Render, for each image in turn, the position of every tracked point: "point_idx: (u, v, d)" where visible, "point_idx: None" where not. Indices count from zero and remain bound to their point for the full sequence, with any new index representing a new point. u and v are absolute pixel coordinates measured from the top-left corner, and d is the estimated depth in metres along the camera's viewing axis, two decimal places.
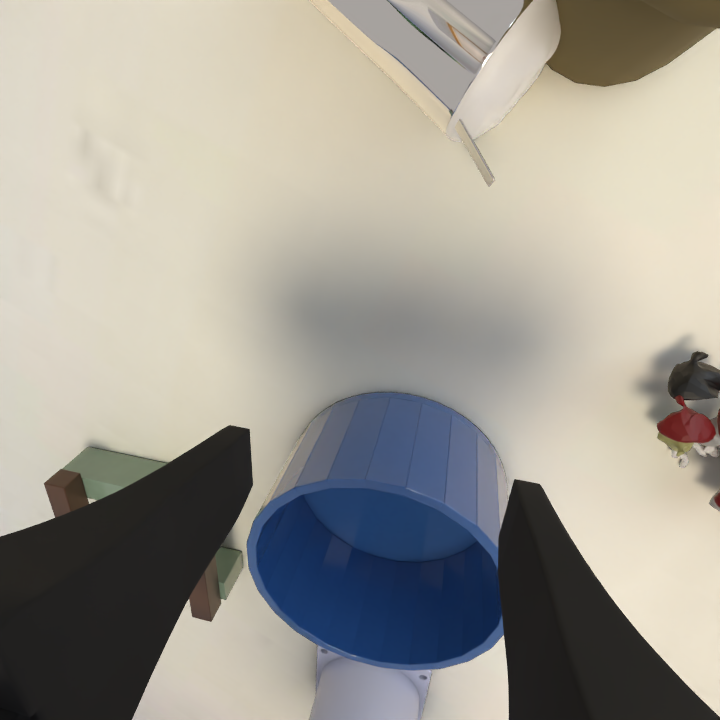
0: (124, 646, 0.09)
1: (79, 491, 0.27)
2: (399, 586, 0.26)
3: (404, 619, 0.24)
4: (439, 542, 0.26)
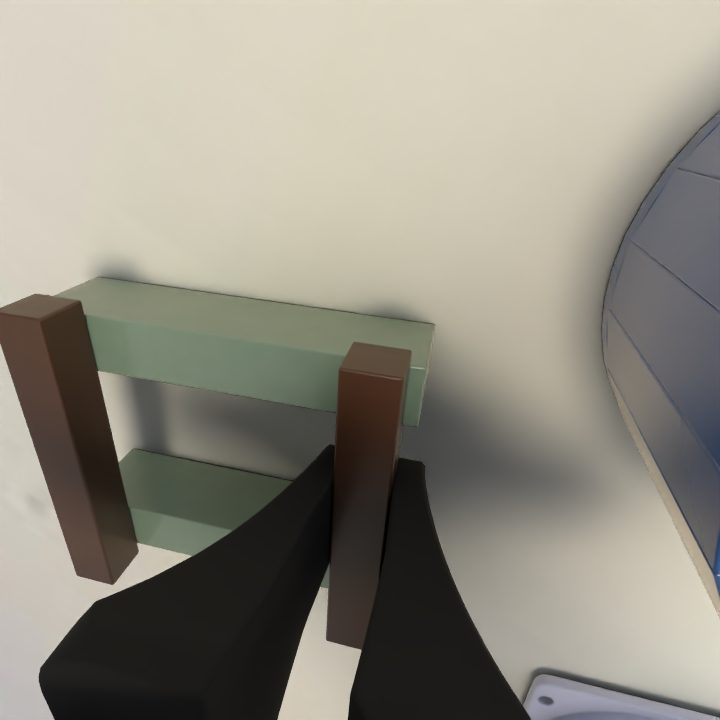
0: (268, 686, 0.08)
1: (79, 346, 0.12)
2: None
3: None
4: None
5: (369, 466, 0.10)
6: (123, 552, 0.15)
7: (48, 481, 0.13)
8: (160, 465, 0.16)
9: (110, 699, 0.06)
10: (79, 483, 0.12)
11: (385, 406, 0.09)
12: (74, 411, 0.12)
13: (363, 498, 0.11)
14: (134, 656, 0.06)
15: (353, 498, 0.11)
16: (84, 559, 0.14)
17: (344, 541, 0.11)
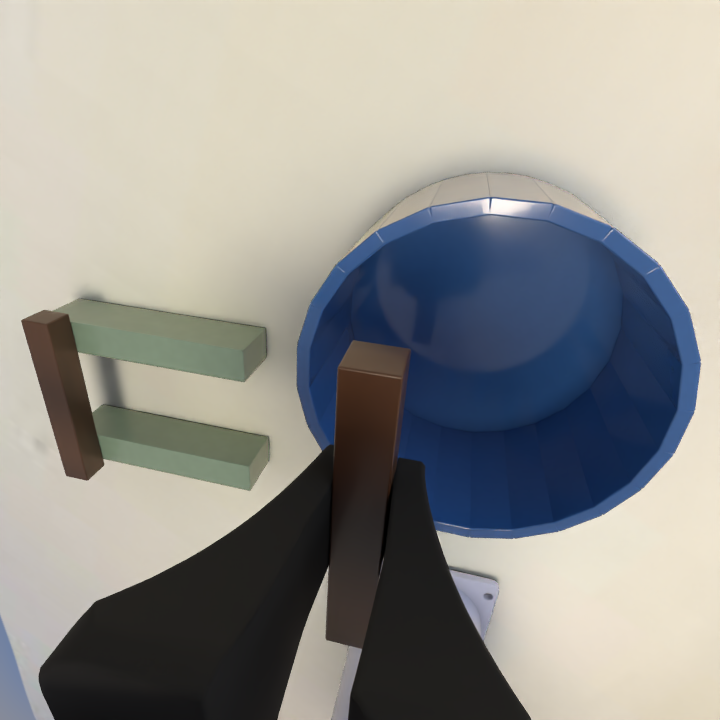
0: (268, 687, 0.08)
1: (67, 338, 0.21)
2: (479, 454, 0.20)
3: (494, 484, 0.18)
4: (530, 399, 0.20)
5: (368, 465, 0.10)
6: (94, 462, 0.25)
7: (50, 414, 0.23)
8: (119, 414, 0.26)
9: (110, 699, 0.06)
10: (67, 415, 0.22)
11: (384, 405, 0.09)
12: (64, 373, 0.22)
13: (362, 497, 0.11)
14: (134, 656, 0.06)
15: (353, 497, 0.11)
16: (70, 464, 0.24)
17: (343, 540, 0.11)
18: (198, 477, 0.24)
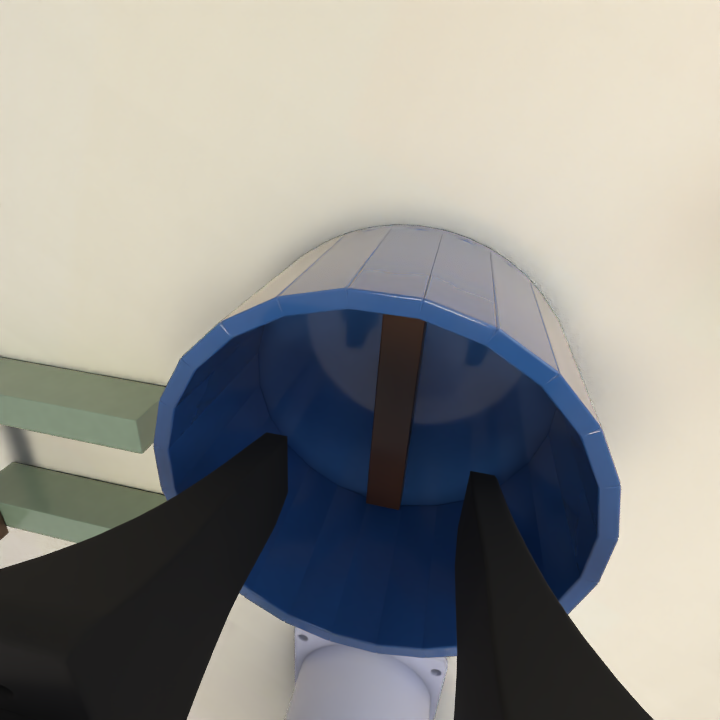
0: (177, 661, 0.09)
1: None
2: (405, 537, 0.18)
3: (413, 581, 0.16)
4: (464, 472, 0.18)
5: (404, 354, 0.15)
6: None
7: None
8: (28, 474, 0.24)
9: None
10: None
11: None
12: None
13: (399, 379, 0.15)
14: (9, 621, 0.06)
15: (391, 380, 0.15)
16: None
17: (383, 416, 0.16)
18: None
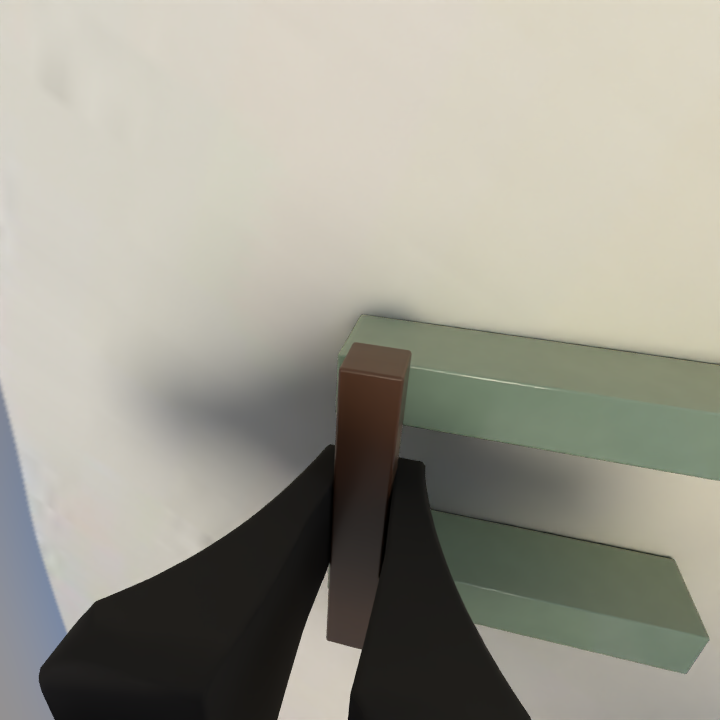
0: (268, 686, 0.08)
1: (404, 401, 0.10)
2: None
3: None
4: None
5: None
6: None
7: (336, 546, 0.11)
8: None
9: (110, 699, 0.06)
10: (376, 549, 0.11)
11: None
12: (393, 473, 0.10)
13: None
14: (134, 656, 0.06)
15: None
16: (345, 625, 0.13)
17: None
18: (577, 644, 0.13)
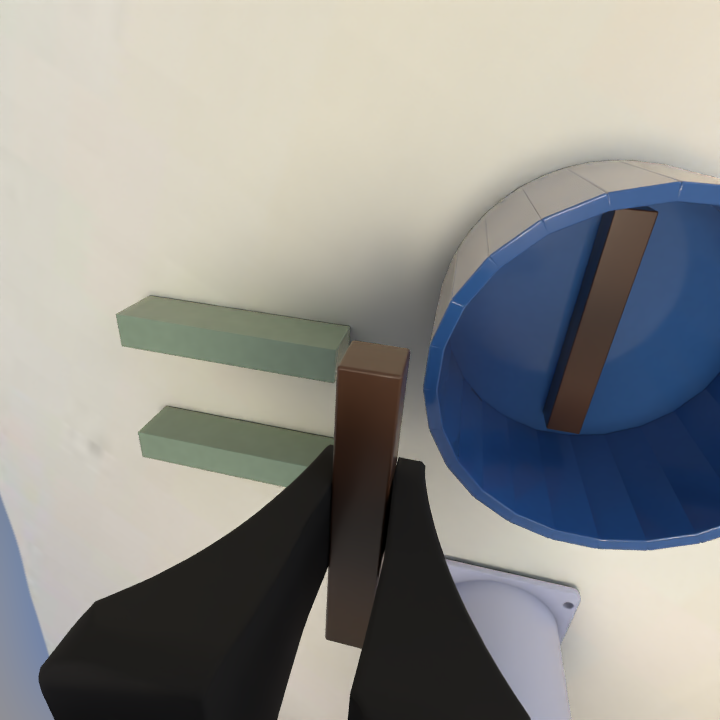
0: (268, 686, 0.08)
1: (403, 400, 0.10)
2: (585, 459, 0.19)
3: (611, 492, 0.17)
4: (638, 400, 0.19)
5: (618, 278, 0.16)
6: None
7: (334, 544, 0.11)
8: (184, 416, 0.25)
9: (110, 699, 0.06)
10: (375, 548, 0.11)
11: (641, 232, 0.15)
12: (392, 472, 0.10)
13: (608, 303, 0.17)
14: (134, 656, 0.06)
15: (600, 304, 0.17)
16: (344, 623, 0.13)
17: (584, 340, 0.17)
18: (273, 482, 0.23)
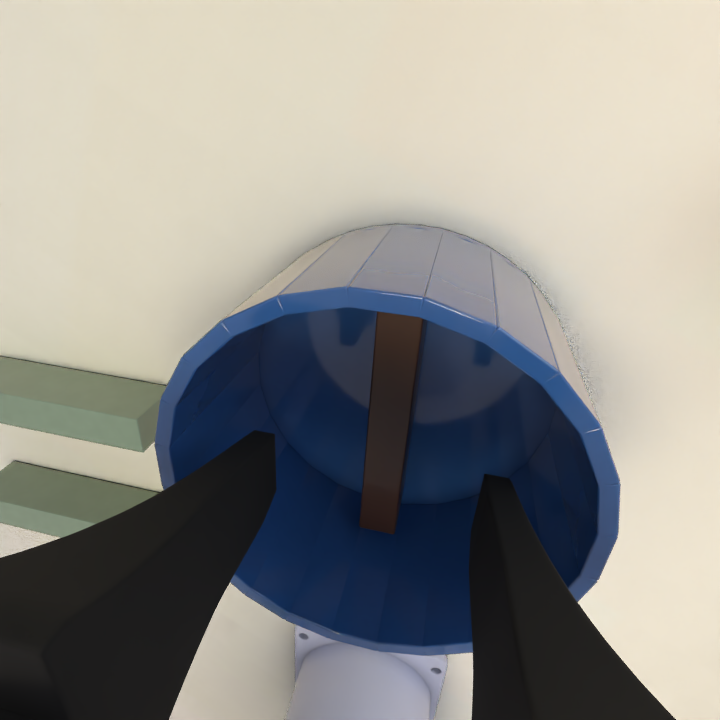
0: (159, 656, 0.09)
1: (424, 325, 0.14)
2: (406, 535, 0.18)
3: (413, 579, 0.16)
4: (464, 471, 0.18)
5: None
6: (399, 507, 0.17)
7: (370, 441, 0.15)
8: (28, 473, 0.24)
9: None
10: (402, 442, 0.15)
11: None
12: (415, 379, 0.14)
13: None
14: None
15: None
16: (375, 511, 0.16)
17: None
18: None
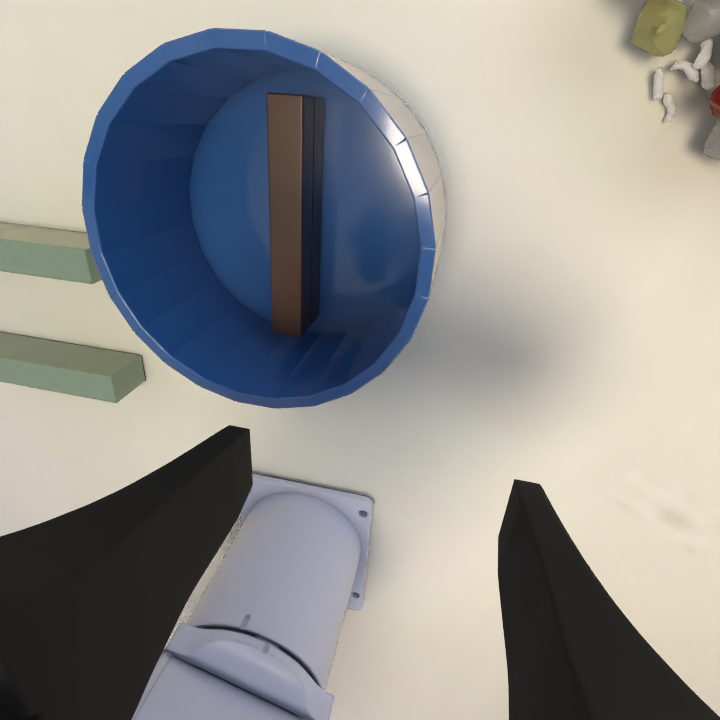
0: (124, 646, 0.09)
1: (310, 130, 0.17)
2: (316, 349, 0.21)
3: (314, 368, 0.19)
4: (367, 295, 0.21)
5: None
6: (306, 315, 0.20)
7: (273, 240, 0.18)
8: None
9: None
10: (298, 238, 0.18)
11: None
12: (304, 177, 0.17)
13: None
14: None
15: None
16: (283, 314, 0.19)
17: None
18: (67, 391, 0.25)
